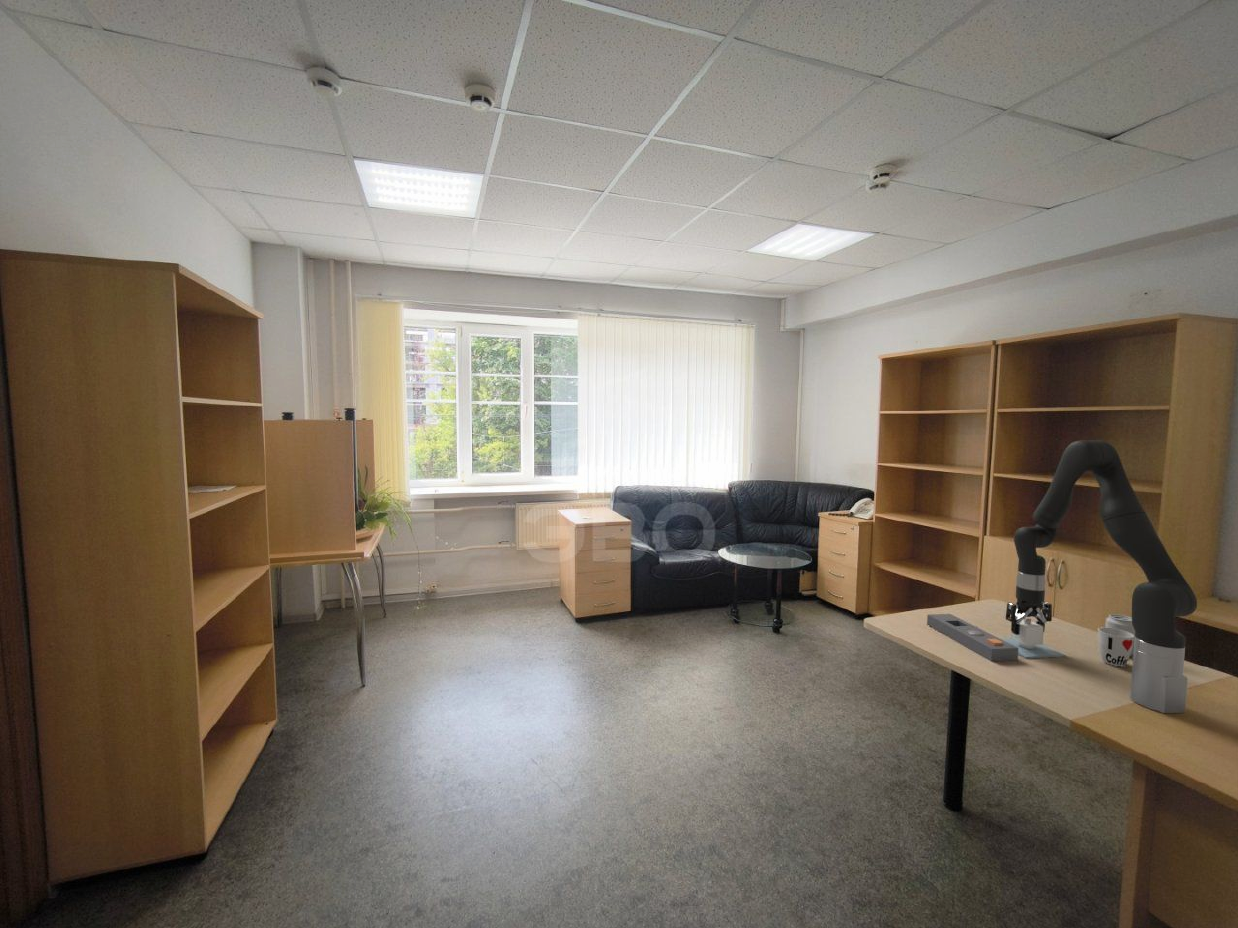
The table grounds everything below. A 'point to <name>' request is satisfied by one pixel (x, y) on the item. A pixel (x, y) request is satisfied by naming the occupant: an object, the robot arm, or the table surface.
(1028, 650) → the mat
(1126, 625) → the can
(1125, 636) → the cup
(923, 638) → the table surface
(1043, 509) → the robot arm
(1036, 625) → the block
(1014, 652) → the power strip
